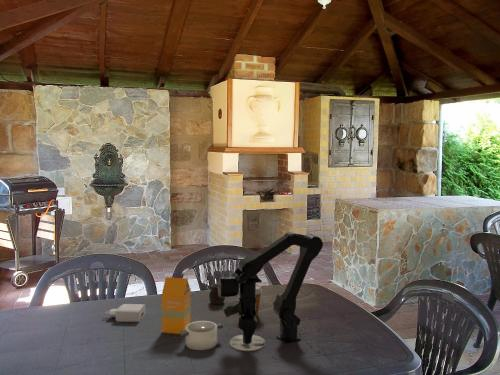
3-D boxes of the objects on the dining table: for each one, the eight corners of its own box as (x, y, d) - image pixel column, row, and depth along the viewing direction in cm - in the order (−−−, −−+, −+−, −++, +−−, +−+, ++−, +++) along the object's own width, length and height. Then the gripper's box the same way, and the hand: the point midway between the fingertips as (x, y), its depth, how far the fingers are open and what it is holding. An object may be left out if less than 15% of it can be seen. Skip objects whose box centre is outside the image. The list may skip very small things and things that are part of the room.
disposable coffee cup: (261, 319, 183) (262, 290, 182) (238, 319, 184) (238, 290, 183) (261, 311, 193) (262, 283, 192) (239, 310, 193) (239, 283, 192)
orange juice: (184, 334, 168) (183, 281, 166) (161, 332, 170) (161, 280, 168) (191, 326, 176) (190, 275, 174) (169, 324, 177) (169, 274, 176)
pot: (228, 344, 160) (228, 327, 159) (187, 354, 152) (187, 336, 151) (214, 333, 169) (214, 317, 169) (174, 342, 161) (174, 325, 161)
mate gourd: (208, 300, 206) (208, 278, 205) (224, 299, 207) (225, 278, 206) (209, 306, 198) (209, 283, 198) (226, 305, 200) (227, 282, 199)
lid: (271, 346, 159) (271, 330, 158) (240, 355, 152) (240, 337, 152) (253, 334, 169) (253, 318, 169) (223, 341, 163) (223, 325, 162)
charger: (109, 313, 189) (145, 314, 188) (101, 322, 180) (139, 323, 179) (109, 302, 189) (145, 303, 188) (101, 310, 179) (138, 311, 179)
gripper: (225, 286, 169) (225, 327, 170) (223, 303, 150) (223, 349, 151) (255, 286, 169) (255, 327, 170) (257, 303, 150) (256, 349, 151)
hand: (247, 338), depth 161 cm, fingers open, 9 cm apart
